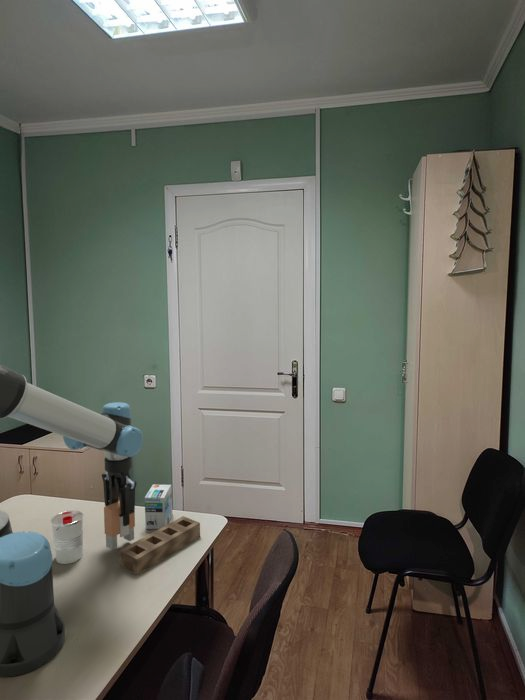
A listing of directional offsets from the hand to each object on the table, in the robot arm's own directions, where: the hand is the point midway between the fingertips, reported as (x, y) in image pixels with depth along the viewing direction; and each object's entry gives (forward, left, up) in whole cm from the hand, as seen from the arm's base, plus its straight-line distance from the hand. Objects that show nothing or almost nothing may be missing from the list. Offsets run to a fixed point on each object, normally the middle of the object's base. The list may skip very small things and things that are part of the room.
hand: (120, 532), depth 132 cm
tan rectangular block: (0, 0, -3) cm, 3 cm away
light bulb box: (+18, +3, -5) cm, 18 cm away
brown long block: (+7, -11, -5) cm, 14 cm away
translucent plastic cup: (-11, +8, -5) cm, 15 cm away
